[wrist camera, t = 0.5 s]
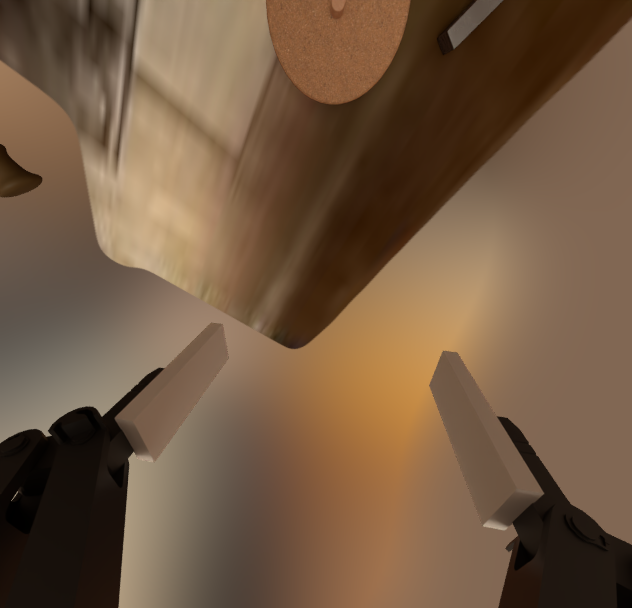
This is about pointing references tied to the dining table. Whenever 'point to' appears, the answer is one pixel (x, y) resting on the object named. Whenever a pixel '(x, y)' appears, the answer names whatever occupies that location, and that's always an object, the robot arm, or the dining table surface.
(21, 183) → the kendama
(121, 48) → the dining table surface
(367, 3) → the lidded jar
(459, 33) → the grey u-shaped frame
